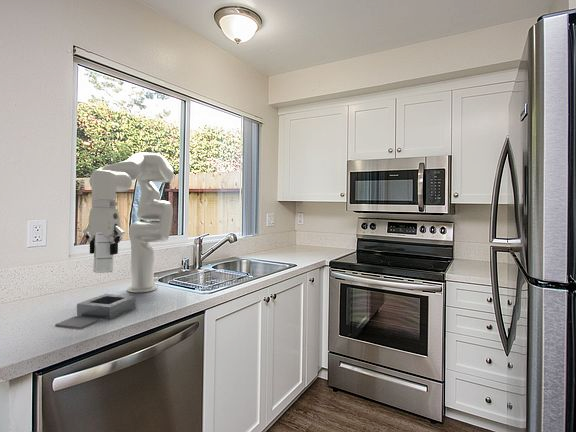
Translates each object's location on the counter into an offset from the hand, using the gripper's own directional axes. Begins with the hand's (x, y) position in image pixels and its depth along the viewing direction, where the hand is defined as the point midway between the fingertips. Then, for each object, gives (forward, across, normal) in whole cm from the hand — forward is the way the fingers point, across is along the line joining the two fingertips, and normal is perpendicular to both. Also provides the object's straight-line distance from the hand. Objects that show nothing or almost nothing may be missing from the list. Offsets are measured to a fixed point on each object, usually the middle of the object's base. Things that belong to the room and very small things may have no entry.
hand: (103, 253), depth 120 cm
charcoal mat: (+22, +1, +10) cm, 24 cm away
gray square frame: (+22, 0, -2) cm, 22 cm away
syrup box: (+7, 0, +1) cm, 7 cm away
